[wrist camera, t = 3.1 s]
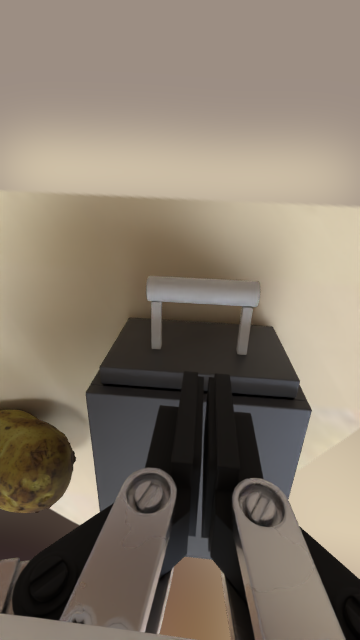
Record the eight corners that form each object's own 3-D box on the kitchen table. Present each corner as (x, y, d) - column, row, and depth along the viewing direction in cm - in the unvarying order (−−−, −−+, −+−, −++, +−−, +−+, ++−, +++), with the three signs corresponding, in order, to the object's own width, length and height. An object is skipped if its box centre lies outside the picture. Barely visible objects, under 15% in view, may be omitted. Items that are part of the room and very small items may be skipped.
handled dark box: (126, 258, 22) (91, 287, 15) (283, 265, 21) (319, 300, 14) (134, 442, 29) (113, 517, 22) (251, 453, 28) (265, 533, 22)
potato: (-35, 380, 29) (-116, 444, 21) (94, 408, 29) (57, 481, 22) (-27, 441, 32) (-96, 515, 25) (88, 466, 32) (54, 547, 25)
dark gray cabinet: (125, 325, 25) (84, 392, 17) (275, 335, 24) (312, 410, 16) (131, 452, 31) (104, 548, 23) (253, 462, 30) (271, 566, 22)
